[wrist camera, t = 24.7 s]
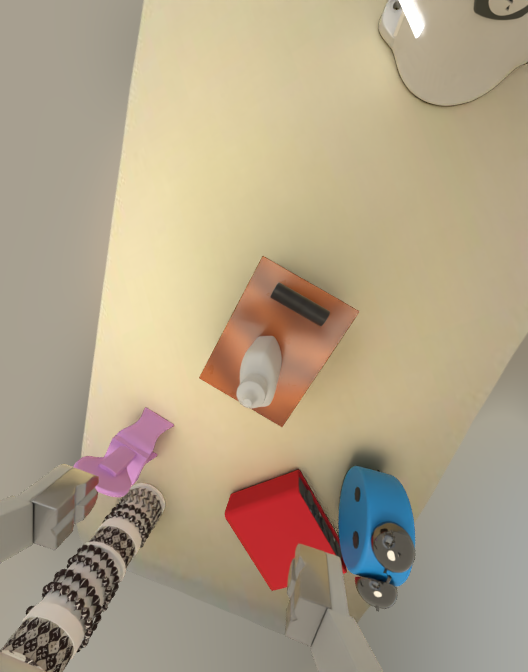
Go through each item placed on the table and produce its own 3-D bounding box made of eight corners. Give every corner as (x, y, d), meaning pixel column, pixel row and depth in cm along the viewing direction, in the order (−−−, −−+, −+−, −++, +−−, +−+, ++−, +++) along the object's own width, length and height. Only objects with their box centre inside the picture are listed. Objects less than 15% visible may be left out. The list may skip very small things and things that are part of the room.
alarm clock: (367, 517, 44) (399, 633, 29) (332, 507, 44) (347, 616, 30) (389, 456, 41) (438, 552, 26) (352, 446, 41) (379, 534, 27)
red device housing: (342, 544, 46) (347, 575, 41) (275, 562, 49) (273, 593, 44) (298, 467, 44) (297, 490, 39) (231, 491, 47) (223, 515, 42)
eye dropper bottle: (242, 368, 31) (207, 419, 19) (261, 329, 30) (235, 358, 18) (274, 384, 31) (257, 444, 19) (294, 345, 29) (289, 385, 18)
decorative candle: (154, 526, 52) (25, 739, 28) (118, 500, 52) (-41, 691, 28) (175, 500, 50) (55, 707, 25) (138, 473, 49) (-18, 654, 25)
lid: (263, 256, 29) (256, 250, 24) (358, 310, 28) (370, 316, 23) (201, 375, 33) (184, 391, 28) (282, 424, 33) (279, 448, 28)
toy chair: (124, 438, 48) (48, 505, 34) (141, 404, 46) (66, 460, 31) (160, 460, 48) (99, 537, 33) (178, 427, 46) (121, 494, 31)
